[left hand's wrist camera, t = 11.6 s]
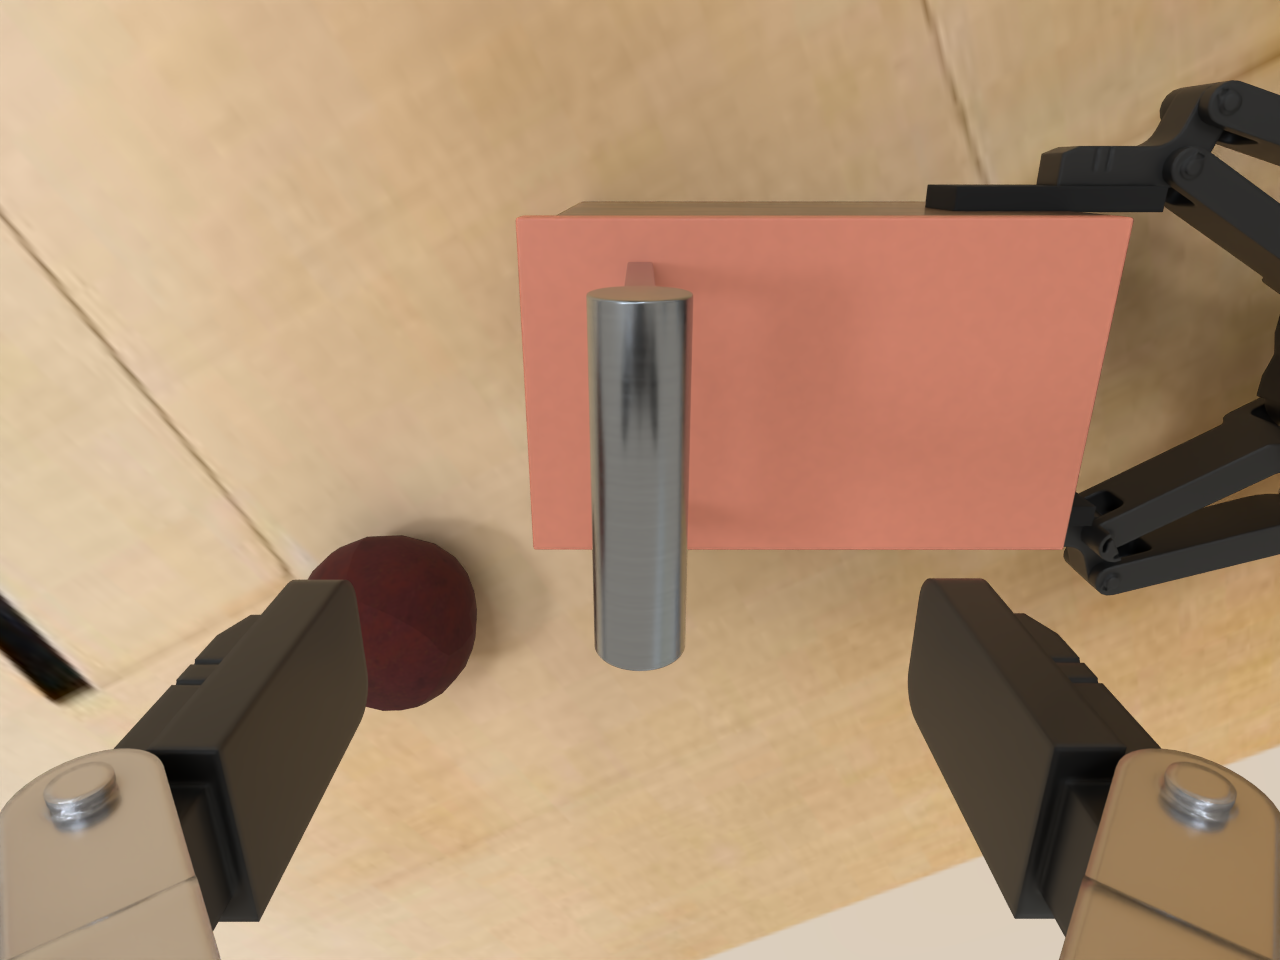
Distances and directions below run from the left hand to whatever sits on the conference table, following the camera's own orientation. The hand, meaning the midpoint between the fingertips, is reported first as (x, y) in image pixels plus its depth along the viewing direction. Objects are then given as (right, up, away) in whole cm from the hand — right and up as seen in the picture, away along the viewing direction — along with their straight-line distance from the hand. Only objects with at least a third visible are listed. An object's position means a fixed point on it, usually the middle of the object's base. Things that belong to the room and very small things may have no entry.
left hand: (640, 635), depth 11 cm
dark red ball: (-11, -2, +27) cm, 29 cm away
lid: (+5, +5, +13) cm, 15 cm away
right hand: (+10, +6, +17) cm, 20 cm away
